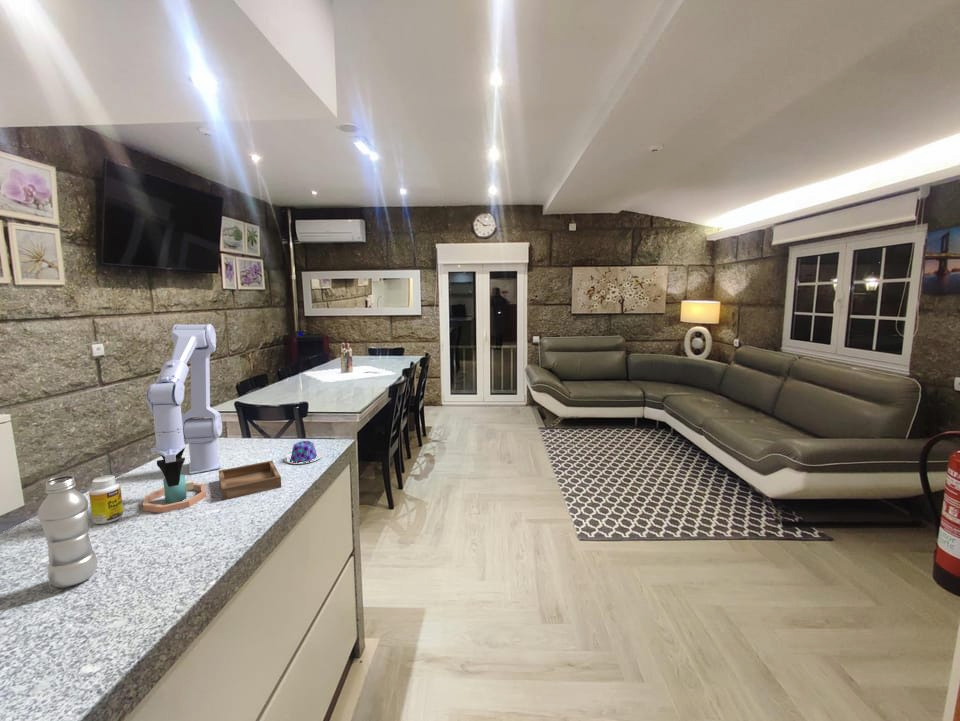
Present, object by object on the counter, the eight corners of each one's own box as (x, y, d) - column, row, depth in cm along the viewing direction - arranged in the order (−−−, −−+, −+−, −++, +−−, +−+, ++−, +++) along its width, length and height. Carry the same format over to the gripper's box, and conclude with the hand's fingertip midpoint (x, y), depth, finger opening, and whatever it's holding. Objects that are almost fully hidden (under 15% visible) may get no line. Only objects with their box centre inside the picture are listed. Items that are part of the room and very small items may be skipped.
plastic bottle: (107, 573, 81) (94, 474, 78) (63, 597, 74) (46, 490, 71) (85, 566, 83) (72, 469, 80) (40, 588, 76) (24, 484, 73)
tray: (219, 480, 121) (218, 470, 121) (272, 469, 129) (272, 460, 128) (222, 500, 110) (222, 489, 109) (281, 487, 118) (280, 476, 117)
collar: (146, 495, 111) (145, 490, 111) (204, 484, 119) (204, 479, 118) (142, 517, 101) (141, 511, 101) (206, 503, 108) (206, 497, 108)
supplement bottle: (111, 525, 97) (105, 483, 96) (86, 525, 97) (80, 483, 96) (130, 512, 103) (125, 473, 101) (106, 512, 103) (101, 473, 101)
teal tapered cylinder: (165, 498, 110) (163, 476, 109) (194, 492, 114) (192, 471, 113) (165, 505, 107) (162, 483, 106) (194, 499, 110) (192, 477, 109)
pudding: (278, 466, 133) (277, 450, 132) (292, 452, 144) (291, 437, 144) (317, 465, 133) (316, 449, 133) (327, 451, 145) (327, 437, 144)
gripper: (151, 424, 110) (156, 473, 112) (146, 440, 99) (152, 494, 101) (183, 420, 114) (188, 467, 116) (183, 435, 103) (188, 487, 105)
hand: (174, 480), depth 109 cm, fingers open, 7 cm apart
